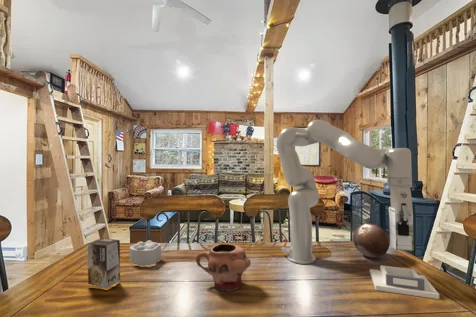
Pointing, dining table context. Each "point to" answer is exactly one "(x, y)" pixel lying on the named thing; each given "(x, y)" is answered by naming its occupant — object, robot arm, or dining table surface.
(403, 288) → the shelf bay
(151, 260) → the lumpy-topped squat cylinder
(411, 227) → the syrup box
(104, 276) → the coffee box
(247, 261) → the sculpted clay mug
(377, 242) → the wooden sphere
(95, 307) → the dining table surface
